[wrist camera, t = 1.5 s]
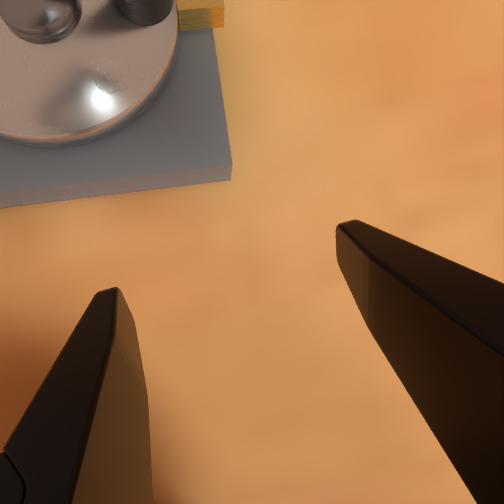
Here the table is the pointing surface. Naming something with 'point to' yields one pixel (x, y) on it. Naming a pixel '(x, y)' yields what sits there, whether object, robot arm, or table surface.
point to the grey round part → (88, 64)
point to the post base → (136, 142)
